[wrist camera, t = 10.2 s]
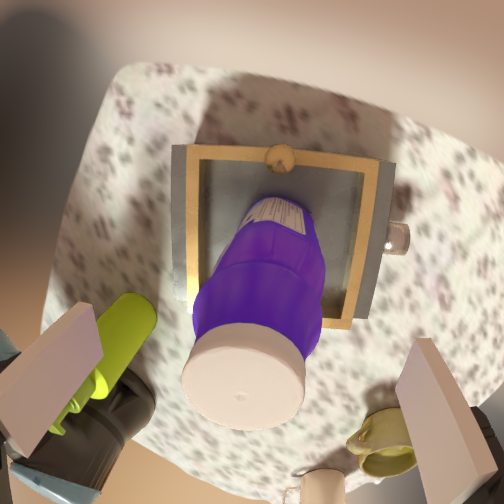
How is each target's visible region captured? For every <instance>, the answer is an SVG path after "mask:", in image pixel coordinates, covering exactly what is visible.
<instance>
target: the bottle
mask: <svg viewBox="0 0 504 504" xmlns="http://www.w3.org/2000/svg"><path fill="white" fill-rule="evenodd" d="M325 272H326V269H325V262H324V258H323V255H322V251H321V248H320V244H319V240H318V237H317V233H316V229H315V225H314V221H313V219H312V217H311V216H310V214H309V213H308V212H307V211H306V210H305V209H303V208H302V207H301V206H300V205H298V204H297V203H295V202H292V201H290V200H288V199H283V198H279V197H266V198H263V199H261V200H259V201H258V202H256V203H255V204H254V205H253V206H252V207H251V208H250V209H249V211H248V212H247V213H246V215H245V216H244V218H243V220H242V221H241V223H240V225H239V227H238V230H237V232H236V234H235V235H234V237H233V238H232V239H231V240H230V241H229V243H228V244H227V245H226V247H225V248H224V250H223V251H222V253H221V255H220V257H219V258H218V260H217V262H216V264H215V266H214V269H213V271H212V273H211V275H210V278H209V279H208V280H207V281H206V282H205V284H204V285H203V286H202V288H201V289H200V290H199V292H198V294H197V296H196V298H195V301H194V304H193V310H192V317H193V326H194V332H195V335H196V340H195V343H194V346H193V348H192V350H191V352H190V355H189V358H188V360H187V362H186V364H185V366H184V369H183V372H182V387H183V391H184V394H185V396H186V398H187V400H188V401H189V403H190V404H191V405H192V406H193V407H194V409H195V410H196V411H197V412H199V413H200V414H201V415H203V416H204V417H206V418H207V419H209V420H210V421H212V422H215V423H217V424H219V425H222V426H225V427H228V428H232V429H237V430H250V431H257V430H264V429H268V428H272V427H275V426H279V425H281V424H283V423H285V422H286V421H288V420H289V419H291V418H292V417H293V416H294V415H295V414H296V413H297V412H298V411H299V409H300V407H301V405H302V403H303V401H304V396H305V376H306V368H305V359H306V358H307V357H308V356H309V355H310V354H311V352H312V350H313V349H314V348H315V346H316V344H317V343H318V341H319V337H320V333H321V328H322V308H321V305H320V300H321V298H322V294H323V288H324V283H325Z"/></svg>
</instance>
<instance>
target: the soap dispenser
mask: <svg viewBox="0 0 504 504" xmlns="http://www.w3.org/2000/svg"><path fill="white" fill-rule="evenodd" d="M156 322H157V316H156V312H155V310H154V308H153V306H152V305H151V303H150V302H149V301H148V300H147V299H145V298H144V297H143V296H141V295H139V294H136V293H125V294H123V295H121V296H120V297H119V298H118V299H117V300H116V301H115V302H114V303H113V304H112V305H111V306H110V307H109V308H108V309H107V310H106V311H105V312H104V313H103V314H102V315H101V316H100V317H99V318H98V319H97V320H96V324H97V328H98V333H99V337H100V342H101V346H102V350H103V354H104V356H103V357H102V359H101V360H100V361H99V362H98V364H97V365H96V366H95V368H94V369H93V370H92V371H91V373H90V374H89V375H88V377H87V378H86V379H85V381H84V382H83V383H82V384H81V386H80V387H79V388H78V390H77V391H76V392H75V394H74V395H73V396H72V398H71V399H70V400H69V402H68V403H67V404H66V406H65V407H64V408H63V410H62V411H61V413H60V414H59V415H58V417H57V418H56V419H55V421H54V422H53V423H52V425H51V426H50V428H49V429H48V430H49V431H50V432H52V433H55V434H59V435H64V434H65V432H66V431H65V430H64V429H63V427H62V426H61V425H60V423H61V422H62V420H63V419H64V417H65V416H66V415H67V413H68V412H72V413H79V412H80V411H81V410H82V408H83V407H84V406H85V404H86V403H87V401H88V400H89V399H90V398H93V399H104V398H105V397H107V395H108V394H109V392H110V391H111V389H112V388H113V387H114V385H115V384H116V382H117V381H118V379H119V378H120V376H121V375H122V373H123V372H124V370H125V369H126V367H127V366H128V364H129V363H130V362H131V360H132V359H133V357H134V356H135V354H136V353H137V351H138V350H139V348H140V347H141V346H142V344H143V343H144V341H145V340H146V338H147V337H148V336H149V334H150V333H151V331H152V330H153V328H154V327H155V325H156Z"/></svg>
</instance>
